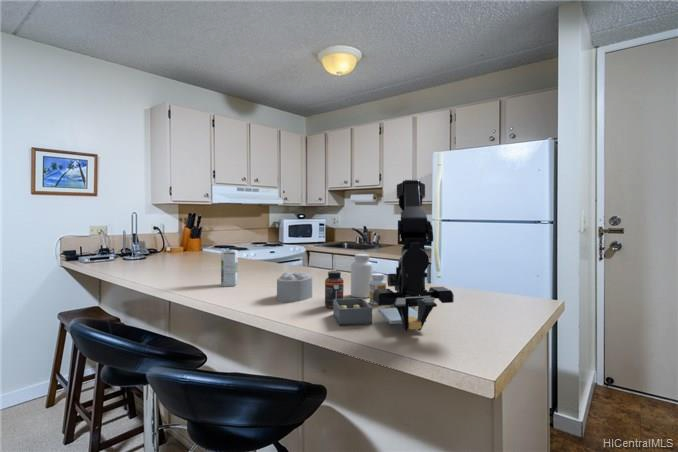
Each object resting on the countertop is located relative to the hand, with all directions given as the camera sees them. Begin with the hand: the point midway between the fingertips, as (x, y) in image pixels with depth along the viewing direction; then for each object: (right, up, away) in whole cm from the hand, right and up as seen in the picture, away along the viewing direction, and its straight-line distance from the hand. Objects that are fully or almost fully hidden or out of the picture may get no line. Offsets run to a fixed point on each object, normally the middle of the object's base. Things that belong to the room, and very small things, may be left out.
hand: (412, 330), depth 87 cm
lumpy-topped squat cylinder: (-34, 0, +39) cm, 52 cm away
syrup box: (-64, +1, +61) cm, 88 cm away
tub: (-14, -1, +14) cm, 20 cm away
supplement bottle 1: (-20, -1, +27) cm, 34 cm away
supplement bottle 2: (-5, 0, +32) cm, 32 cm away
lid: (-1, +1, +6) cm, 6 cm away
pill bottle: (-10, 0, +42) cm, 43 cm away
